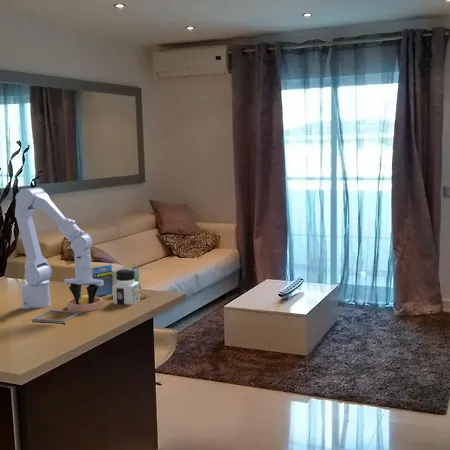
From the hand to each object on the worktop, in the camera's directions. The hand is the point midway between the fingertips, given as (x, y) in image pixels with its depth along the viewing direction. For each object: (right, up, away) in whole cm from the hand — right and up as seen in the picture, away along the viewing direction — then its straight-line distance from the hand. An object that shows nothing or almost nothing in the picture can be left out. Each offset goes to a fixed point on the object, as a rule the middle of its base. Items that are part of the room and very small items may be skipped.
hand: (84, 304), depth 221 cm
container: (+14, -1, +7) cm, 16 cm away
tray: (-7, -3, -11) cm, 14 cm away
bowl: (0, -2, 0) cm, 2 cm away
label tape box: (+2, +1, +20) cm, 20 cm away
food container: (+14, +1, +23) cm, 26 cm away
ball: (0, -1, 0) cm, 1 cm away
